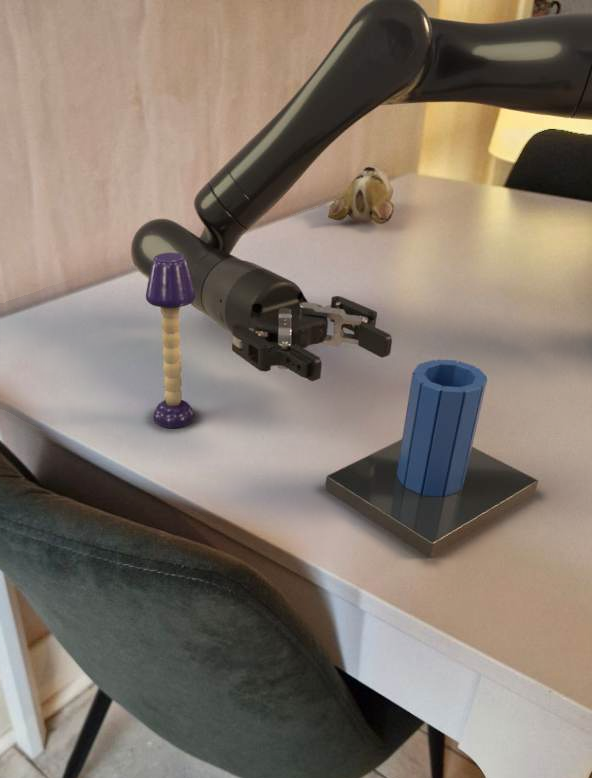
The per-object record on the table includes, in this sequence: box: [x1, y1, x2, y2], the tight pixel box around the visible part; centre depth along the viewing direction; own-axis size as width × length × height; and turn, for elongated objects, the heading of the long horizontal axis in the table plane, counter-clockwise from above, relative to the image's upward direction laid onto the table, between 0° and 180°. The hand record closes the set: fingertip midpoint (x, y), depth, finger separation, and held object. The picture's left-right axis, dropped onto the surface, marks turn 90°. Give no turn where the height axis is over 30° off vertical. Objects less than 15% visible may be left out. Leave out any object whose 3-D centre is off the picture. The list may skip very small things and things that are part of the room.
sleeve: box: [397, 359, 488, 497], centre depth 64 cm, size 6×6×10 cm
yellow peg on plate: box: [324, 439, 539, 558], centre depth 65 cm, size 14×12×9 cm
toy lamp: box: [145, 253, 195, 429], centre depth 74 cm, size 5×5×17 cm
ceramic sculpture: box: [328, 164, 394, 225], centre depth 130 cm, size 11×9×15 cm
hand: (354, 359), depth 70 cm, fingers open, 8 cm apart
